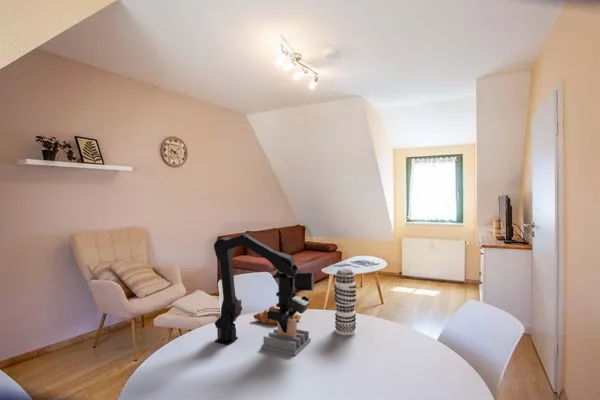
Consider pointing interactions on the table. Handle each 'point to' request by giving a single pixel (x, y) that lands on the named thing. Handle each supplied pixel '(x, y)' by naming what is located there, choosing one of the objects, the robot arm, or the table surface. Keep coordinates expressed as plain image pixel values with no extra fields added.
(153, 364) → the table surface
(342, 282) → the black-white patterned cylinder
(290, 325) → the terracotta plate
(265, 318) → the croissant
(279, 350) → the dish rack
